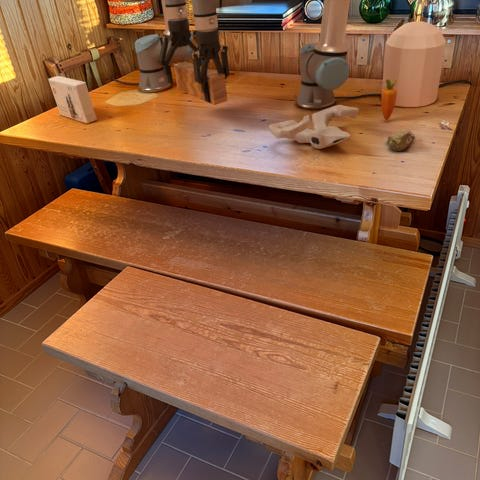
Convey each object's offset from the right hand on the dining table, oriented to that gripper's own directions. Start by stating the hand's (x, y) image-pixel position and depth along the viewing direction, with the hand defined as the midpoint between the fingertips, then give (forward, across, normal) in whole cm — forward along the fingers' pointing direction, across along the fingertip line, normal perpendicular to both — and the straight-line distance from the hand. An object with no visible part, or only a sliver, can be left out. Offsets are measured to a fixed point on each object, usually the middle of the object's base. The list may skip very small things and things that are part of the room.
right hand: (215, 99), depth 165 cm
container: (+12, +72, -27) cm, 78 cm away
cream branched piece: (+12, +17, -37) cm, 43 cm away
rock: (+12, +35, -55) cm, 66 cm away
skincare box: (+12, -36, +57) cm, 68 cm away
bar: (+1, 0, +10) cm, 10 cm away
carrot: (+12, +48, -37) cm, 62 cm away
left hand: (-3, 0, +20) cm, 20 cm away
